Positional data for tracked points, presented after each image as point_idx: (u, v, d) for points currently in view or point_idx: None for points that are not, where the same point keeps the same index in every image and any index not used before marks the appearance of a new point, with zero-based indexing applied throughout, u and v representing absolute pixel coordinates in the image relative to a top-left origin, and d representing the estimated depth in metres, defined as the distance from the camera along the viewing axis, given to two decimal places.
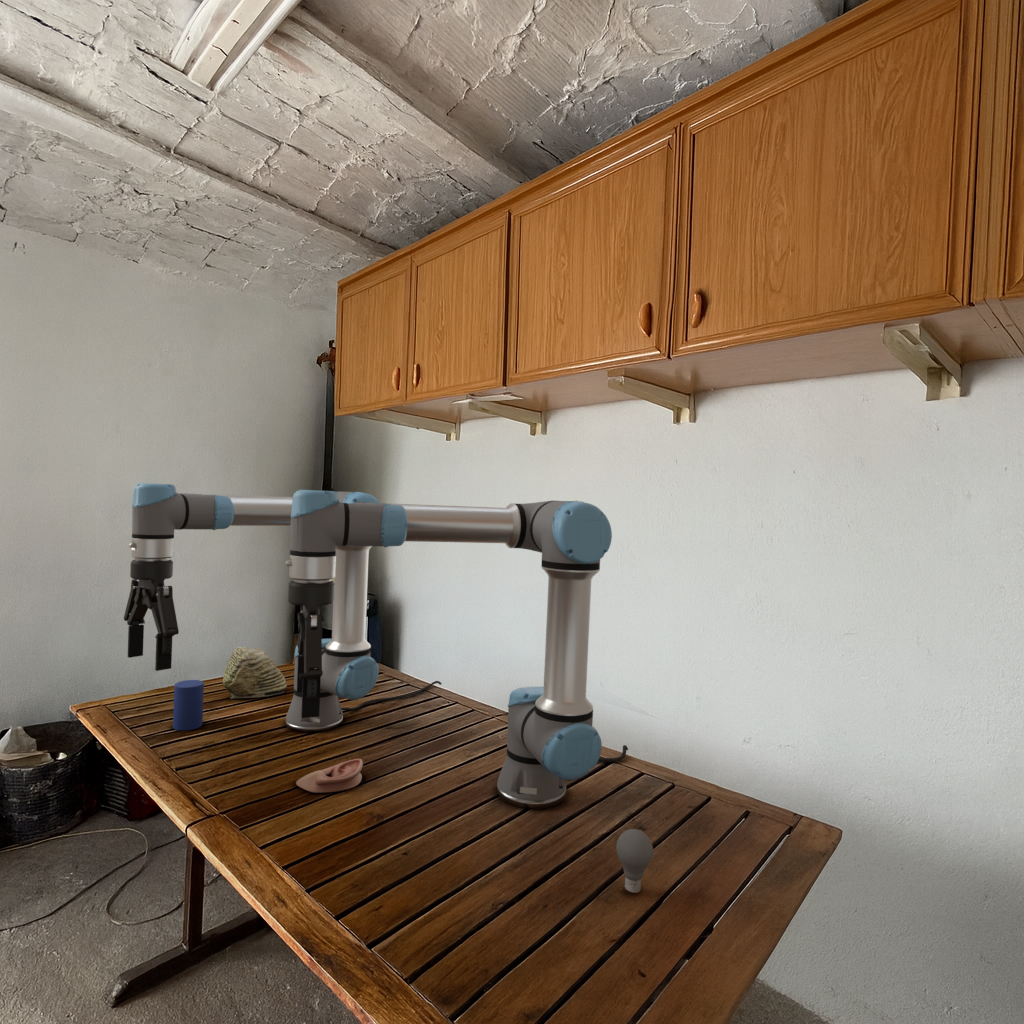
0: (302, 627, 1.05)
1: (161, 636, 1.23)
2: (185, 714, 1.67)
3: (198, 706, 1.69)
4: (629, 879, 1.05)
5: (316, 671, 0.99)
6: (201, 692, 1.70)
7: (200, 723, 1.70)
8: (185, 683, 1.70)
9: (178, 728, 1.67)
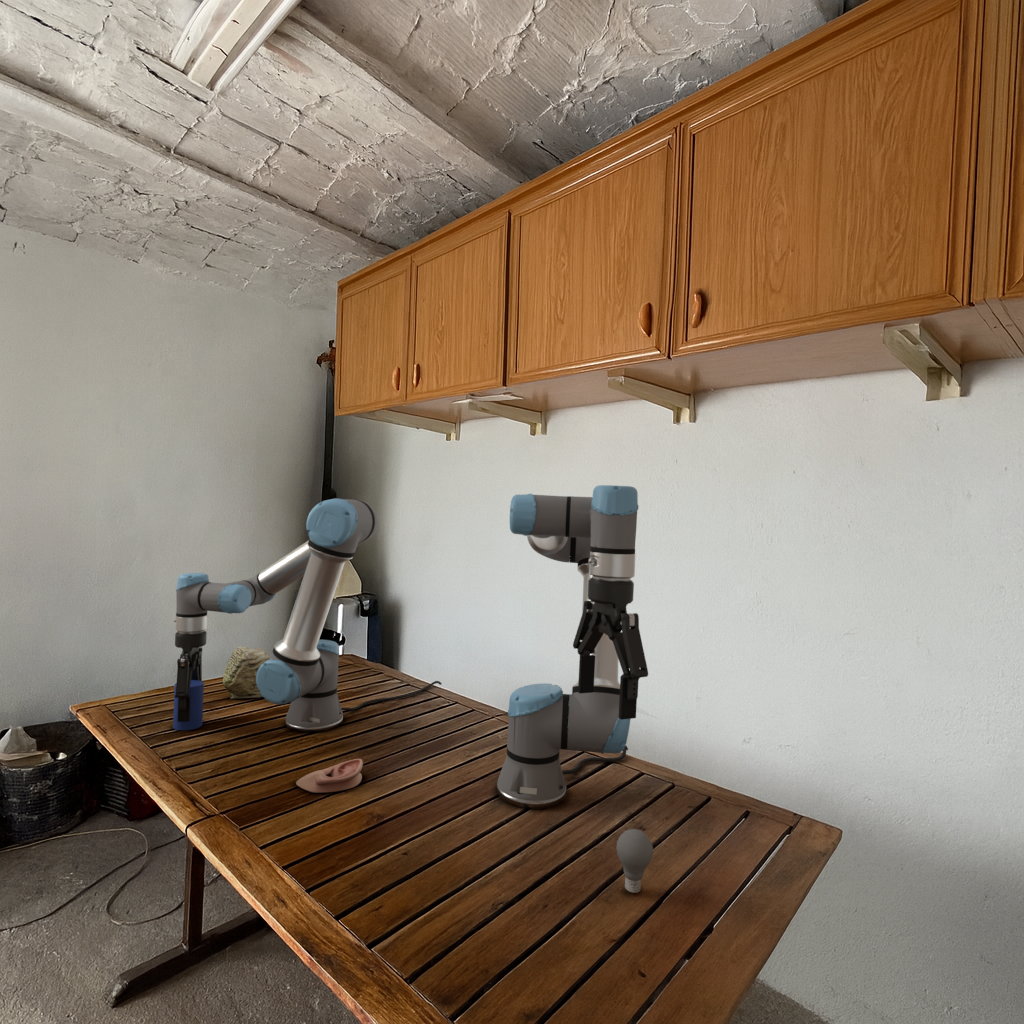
0: (610, 626, 1.02)
1: (178, 697, 1.65)
2: None
3: (198, 706, 1.69)
4: (629, 879, 1.05)
5: (643, 671, 0.97)
6: (201, 692, 1.70)
7: (200, 723, 1.70)
8: None
9: (178, 728, 1.67)
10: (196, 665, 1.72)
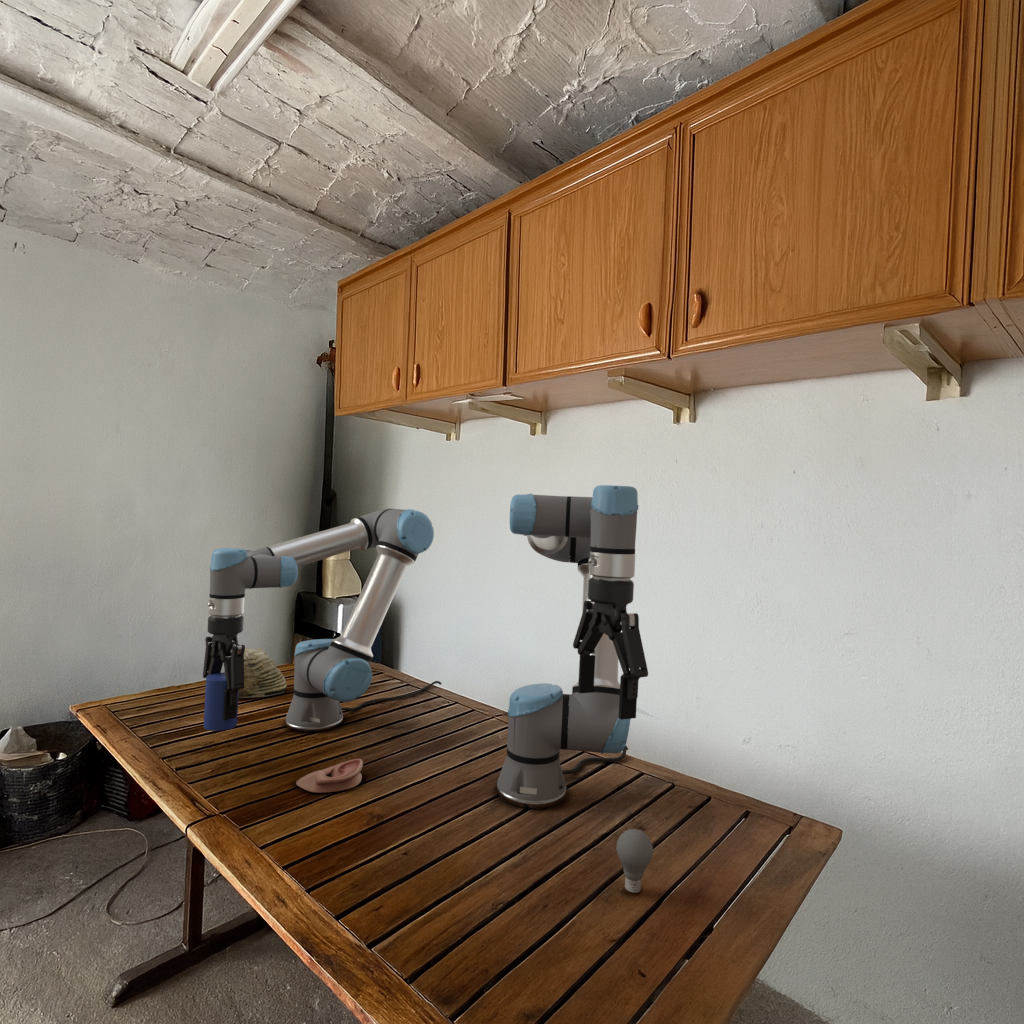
0: (610, 626, 1.02)
1: (229, 691, 1.42)
2: None
3: None
4: (629, 879, 1.05)
5: (643, 671, 0.97)
6: None
7: None
8: (217, 676, 1.46)
9: (221, 728, 1.43)
10: None
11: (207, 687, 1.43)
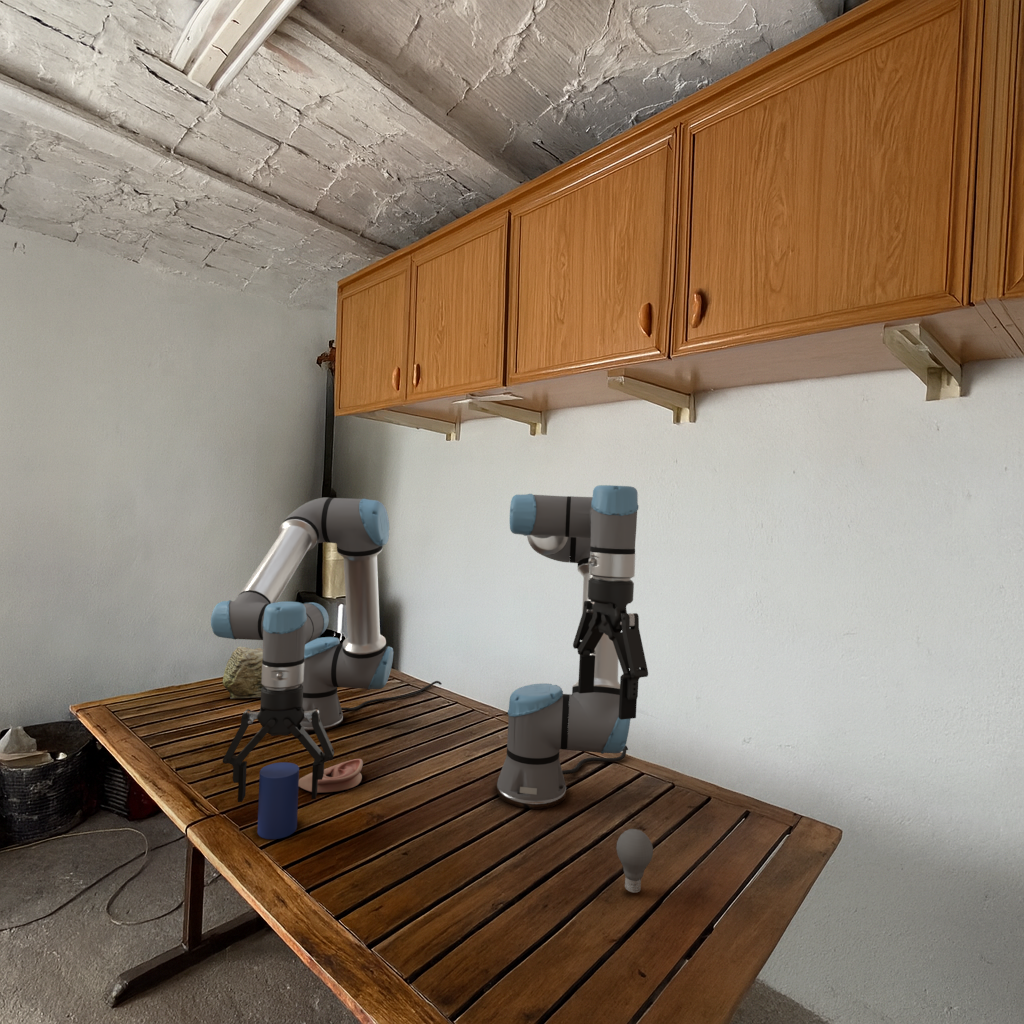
0: (610, 626, 1.02)
1: (322, 762, 1.20)
2: (297, 805, 1.21)
3: None
4: (629, 879, 1.05)
5: (643, 671, 0.97)
6: None
7: None
8: (276, 772, 1.19)
9: (294, 829, 1.19)
10: None
11: (276, 788, 1.17)
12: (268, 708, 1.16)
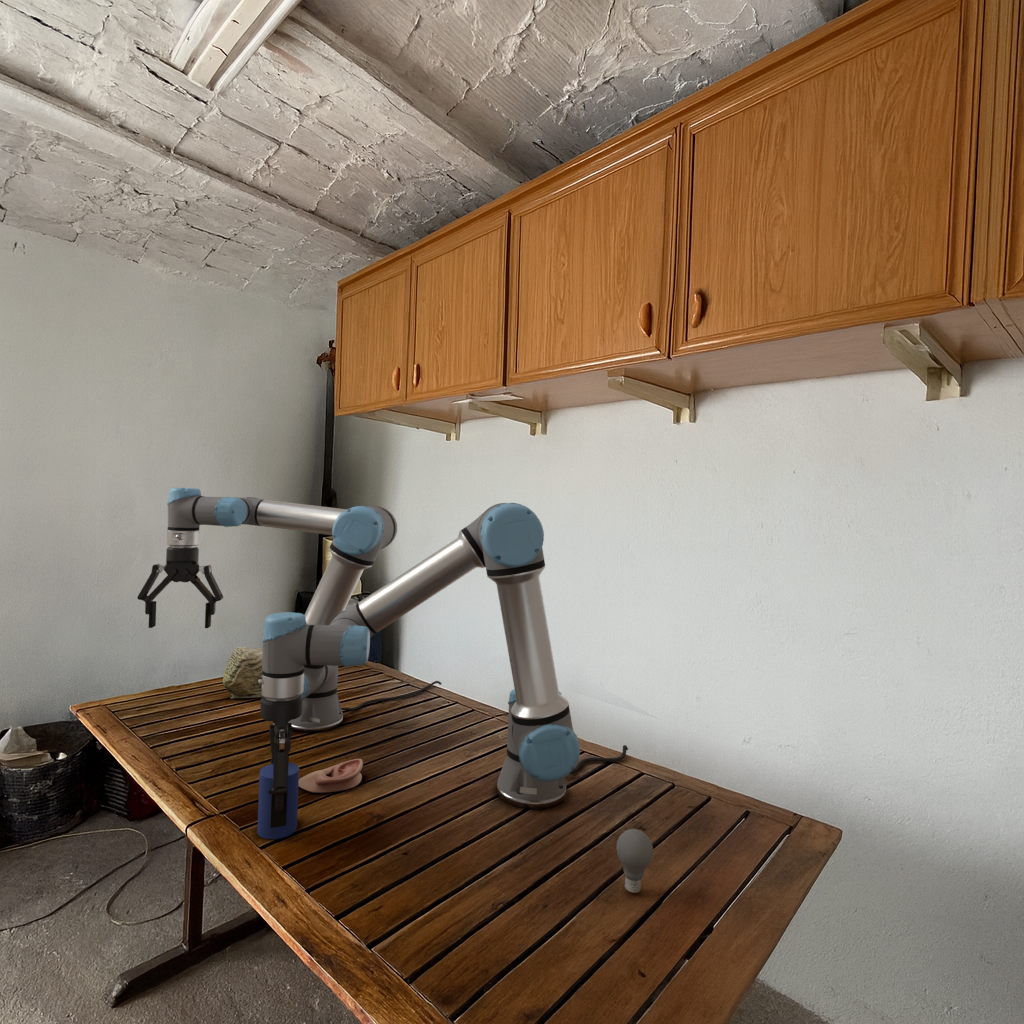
0: (272, 743, 1.17)
1: (213, 601, 1.67)
2: (297, 805, 1.21)
3: None
4: (629, 879, 1.05)
5: (282, 790, 1.13)
6: None
7: None
8: None
9: (293, 829, 1.19)
10: (170, 581, 1.67)
11: None
12: (170, 560, 1.63)
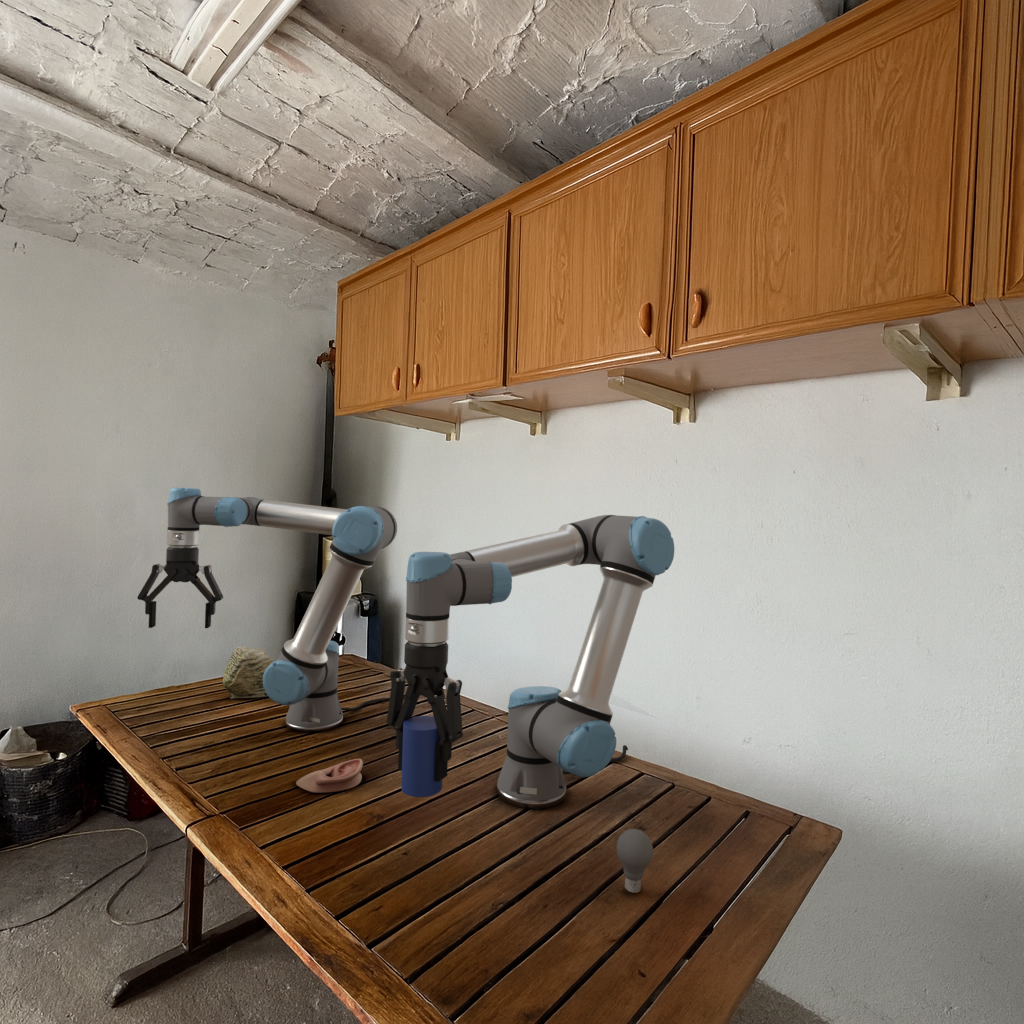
0: (432, 692, 1.07)
1: (213, 601, 1.67)
2: None
3: None
4: (629, 879, 1.05)
5: (459, 735, 1.07)
6: None
7: None
8: (426, 724, 1.09)
9: None
10: (170, 581, 1.67)
11: (437, 738, 1.08)
12: (170, 560, 1.63)
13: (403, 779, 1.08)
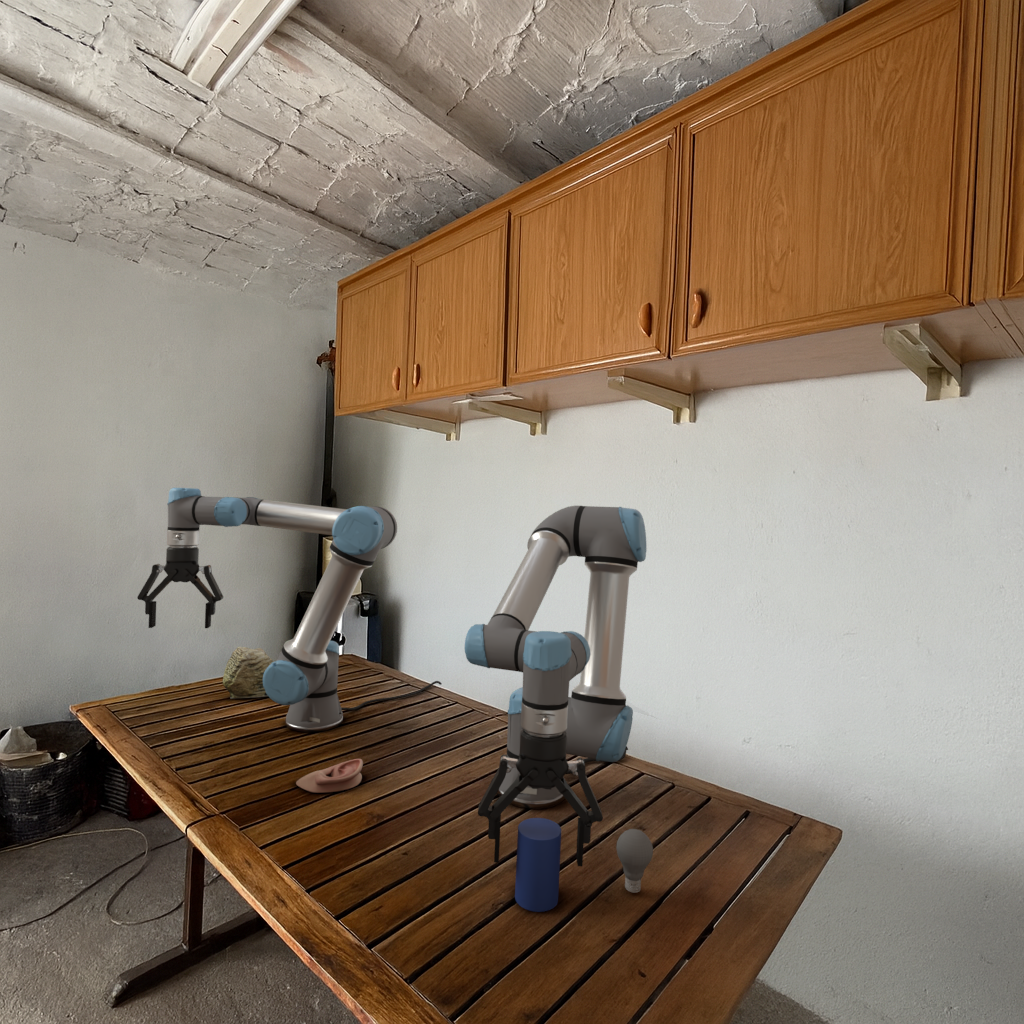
0: (560, 780, 1.01)
1: (213, 601, 1.67)
2: None
3: None
4: (629, 879, 1.05)
5: None
6: None
7: None
8: (545, 830, 1.02)
9: None
10: (170, 581, 1.67)
11: (560, 843, 1.02)
12: (170, 560, 1.63)
13: (527, 895, 1.00)
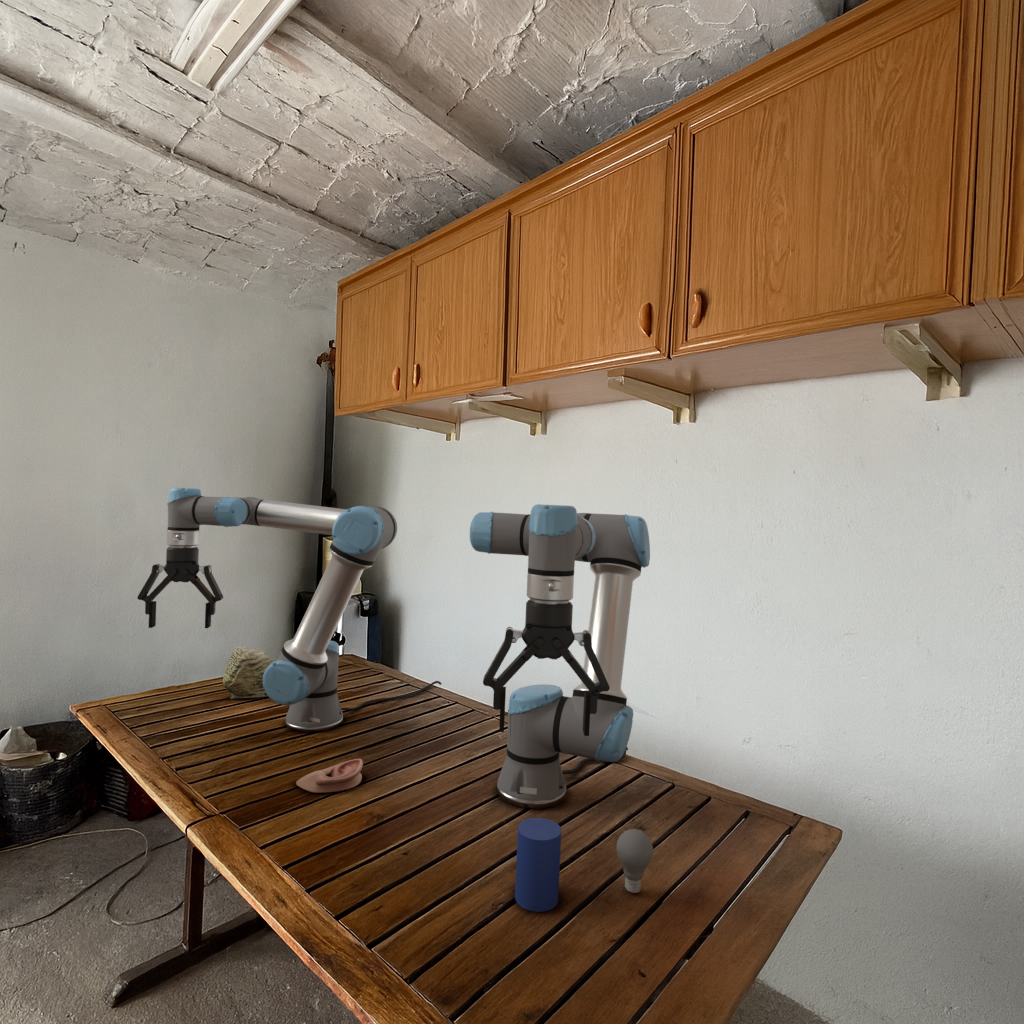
0: (566, 649, 1.01)
1: (213, 601, 1.67)
2: None
3: None
4: (629, 879, 1.05)
5: None
6: None
7: None
8: (545, 830, 1.02)
9: None
10: (170, 581, 1.67)
11: (560, 843, 1.02)
12: (170, 560, 1.63)
13: (527, 895, 1.00)
